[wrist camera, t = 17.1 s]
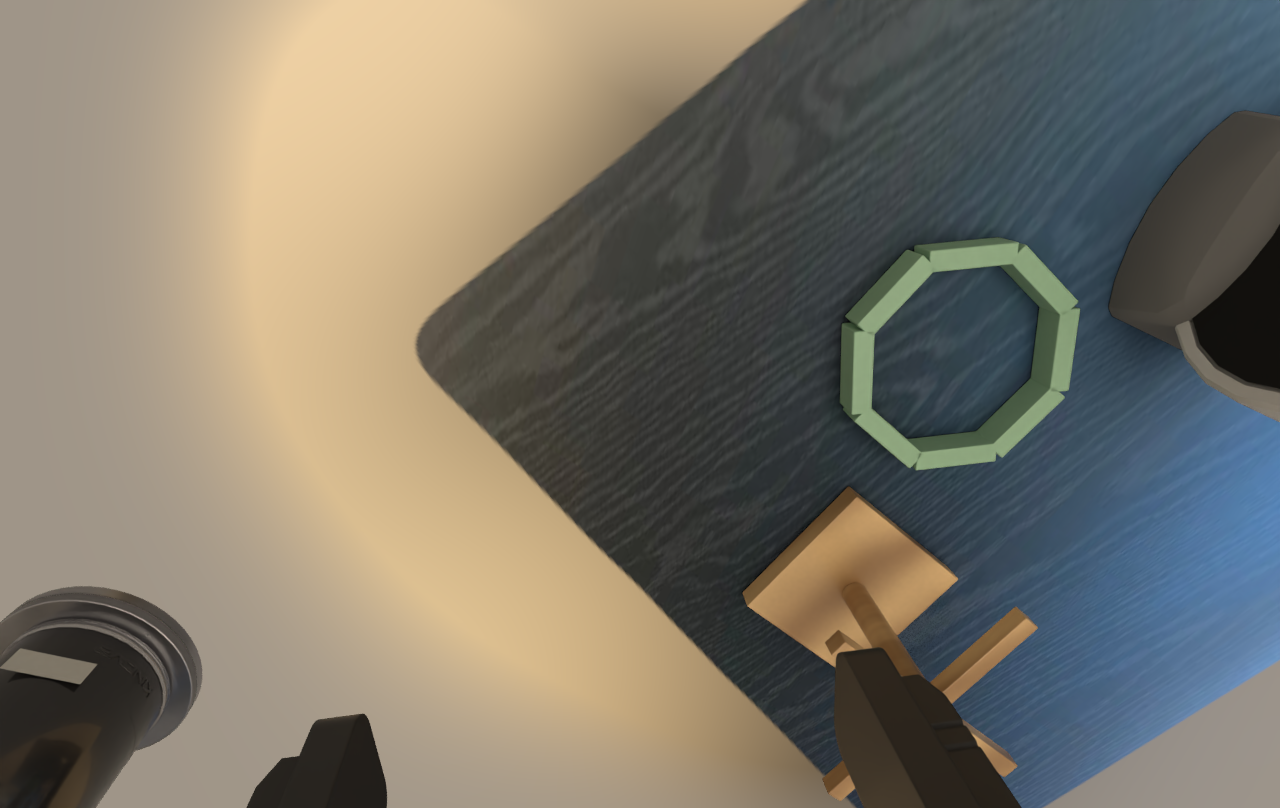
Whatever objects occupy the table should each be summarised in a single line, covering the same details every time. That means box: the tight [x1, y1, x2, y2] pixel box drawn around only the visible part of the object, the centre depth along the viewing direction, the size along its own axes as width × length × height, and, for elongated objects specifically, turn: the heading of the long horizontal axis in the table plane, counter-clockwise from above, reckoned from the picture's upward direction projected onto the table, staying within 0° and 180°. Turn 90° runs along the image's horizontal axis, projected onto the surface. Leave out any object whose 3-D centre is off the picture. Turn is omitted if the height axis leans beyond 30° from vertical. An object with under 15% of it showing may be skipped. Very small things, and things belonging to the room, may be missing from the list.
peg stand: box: [743, 486, 1038, 801], centre depth 43 cm, size 14×14×13 cm
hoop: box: [840, 237, 1080, 470], centre depth 43 cm, size 13×13×2 cm
